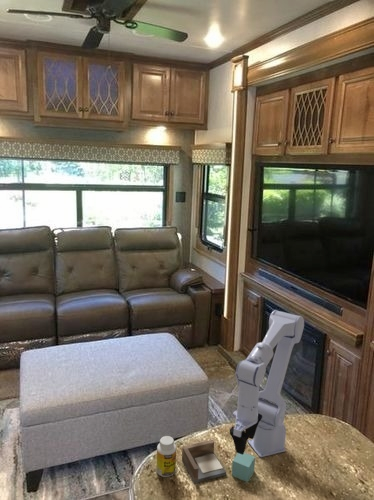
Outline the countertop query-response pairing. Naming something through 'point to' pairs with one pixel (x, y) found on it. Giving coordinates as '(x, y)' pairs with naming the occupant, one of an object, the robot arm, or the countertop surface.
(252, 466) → the teal block
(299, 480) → the countertop surface
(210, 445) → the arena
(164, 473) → the supplement bottle
